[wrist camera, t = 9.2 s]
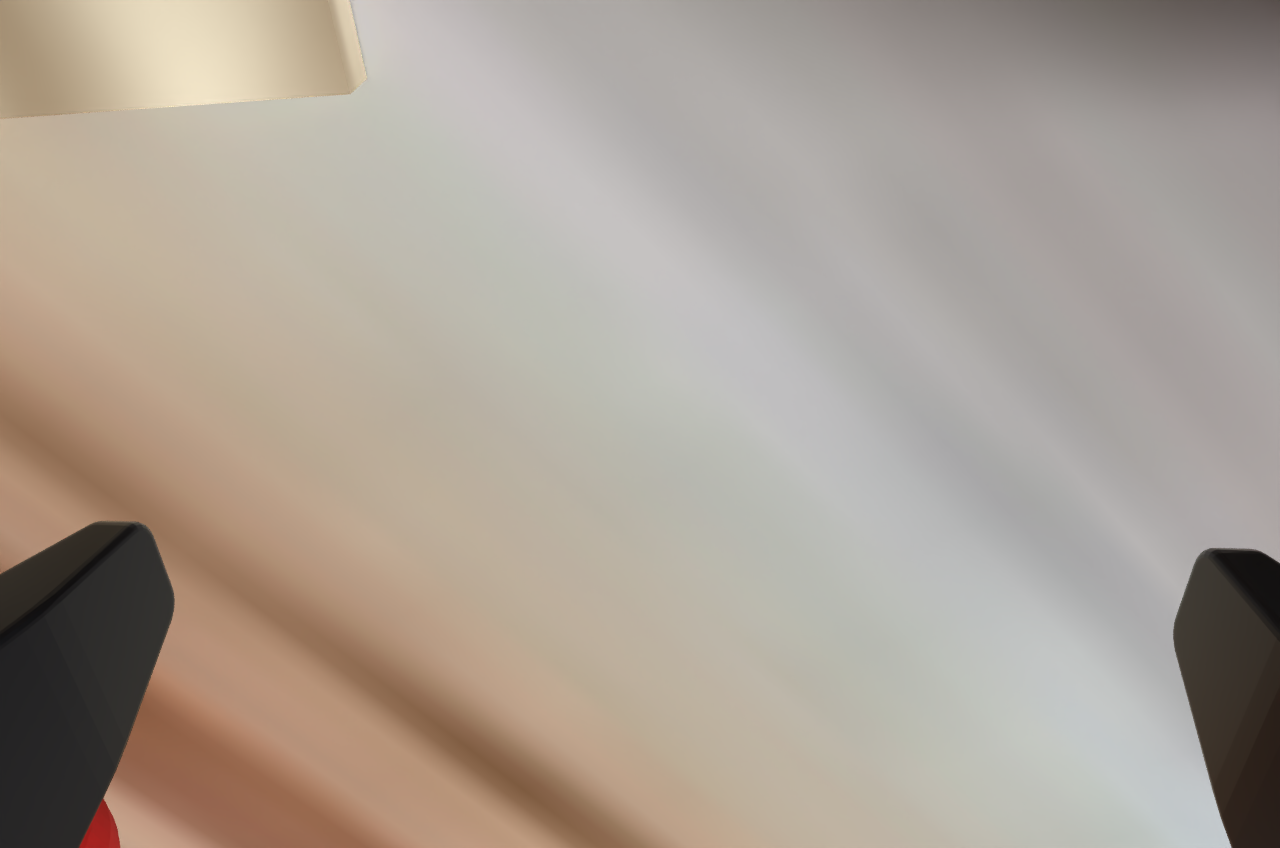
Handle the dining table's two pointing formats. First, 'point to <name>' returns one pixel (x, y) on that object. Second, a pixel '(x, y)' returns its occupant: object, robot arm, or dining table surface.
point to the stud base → (172, 53)
